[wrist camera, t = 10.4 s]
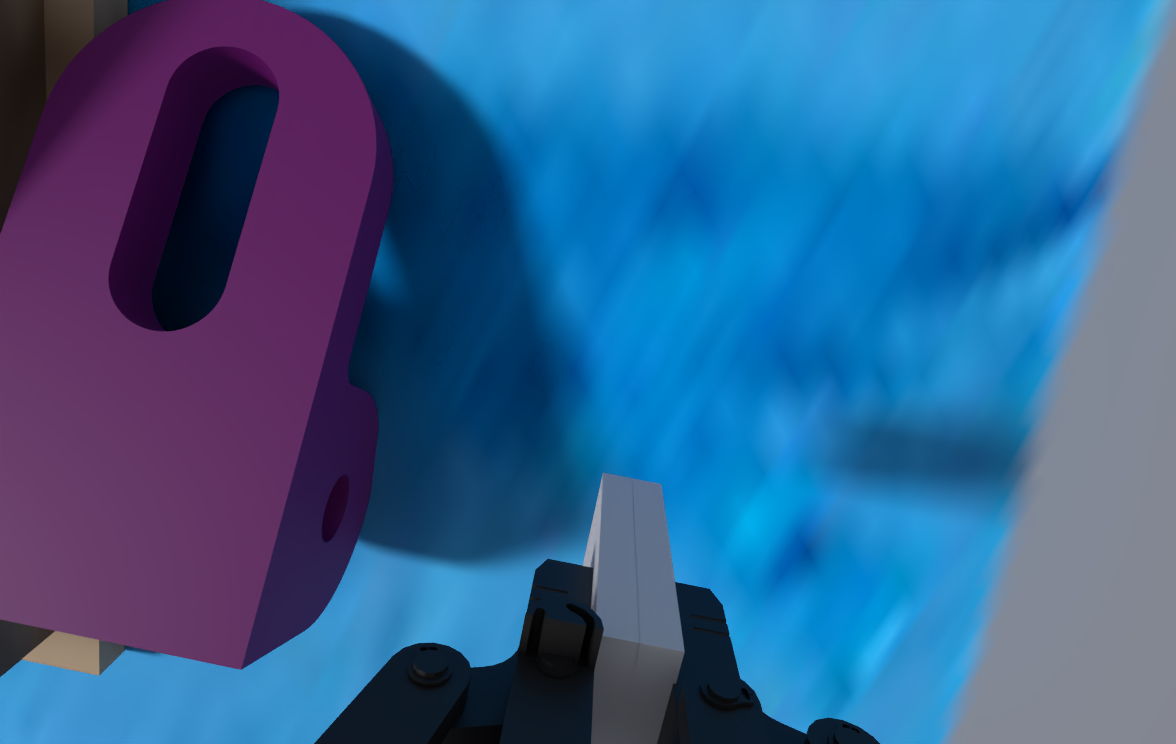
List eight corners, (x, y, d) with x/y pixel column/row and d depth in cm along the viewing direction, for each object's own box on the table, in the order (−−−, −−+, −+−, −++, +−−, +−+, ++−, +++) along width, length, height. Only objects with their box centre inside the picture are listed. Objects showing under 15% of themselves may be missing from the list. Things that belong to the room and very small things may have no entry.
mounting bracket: (228, 109, 29) (91, 555, 26) (94, -37, 21) (-126, 593, 18) (456, 159, 29) (341, 608, 27) (413, 33, 21) (240, 670, 18)
